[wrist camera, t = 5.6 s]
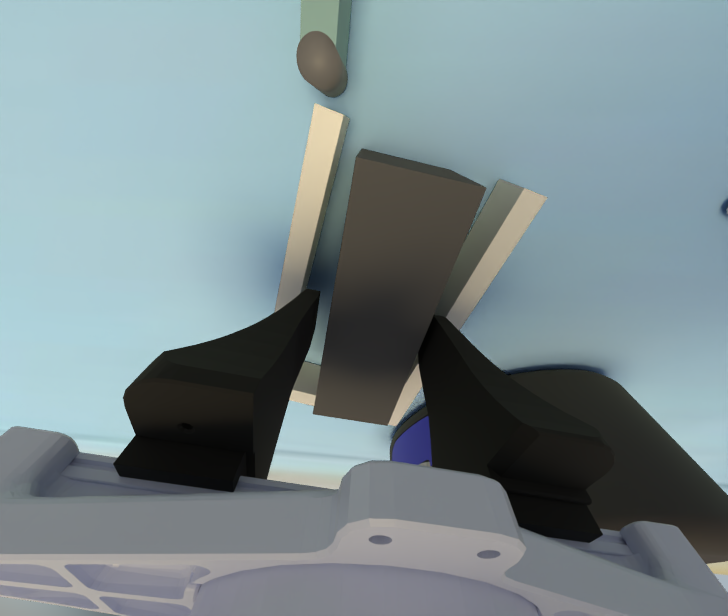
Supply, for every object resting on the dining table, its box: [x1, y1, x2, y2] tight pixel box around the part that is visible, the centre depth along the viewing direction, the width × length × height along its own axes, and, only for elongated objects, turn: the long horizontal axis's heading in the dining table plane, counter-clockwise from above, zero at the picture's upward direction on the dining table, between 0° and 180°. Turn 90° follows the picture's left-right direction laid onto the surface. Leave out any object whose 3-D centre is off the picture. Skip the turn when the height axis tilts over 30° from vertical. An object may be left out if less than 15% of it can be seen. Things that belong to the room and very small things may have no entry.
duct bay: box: [274, 104, 548, 426], centre depth 15 cm, size 9×15×2 cm, turn 161°
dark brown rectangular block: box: [313, 149, 486, 426], centre depth 13 cm, size 4×12×5 cm, turn 168°
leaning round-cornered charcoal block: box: [390, 369, 728, 564], centre depth 16 cm, size 16×5×9 cm, turn 121°
